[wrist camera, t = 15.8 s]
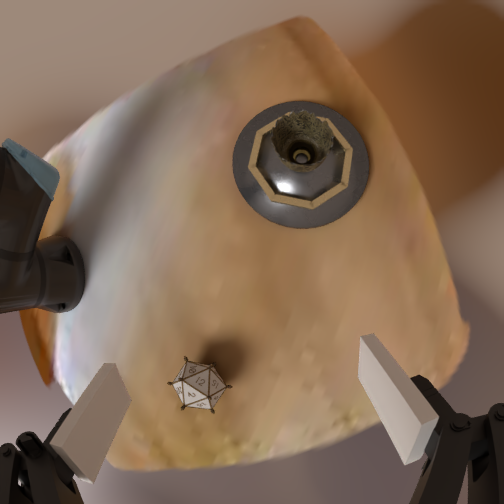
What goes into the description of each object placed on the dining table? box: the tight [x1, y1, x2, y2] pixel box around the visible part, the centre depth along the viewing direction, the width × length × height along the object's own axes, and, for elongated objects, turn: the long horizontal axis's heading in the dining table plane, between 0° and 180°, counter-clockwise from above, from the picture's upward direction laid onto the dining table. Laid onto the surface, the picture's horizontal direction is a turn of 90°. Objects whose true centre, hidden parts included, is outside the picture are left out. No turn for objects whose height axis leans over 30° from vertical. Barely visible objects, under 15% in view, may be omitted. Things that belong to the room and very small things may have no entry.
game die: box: [167, 356, 232, 414], centre depth 37 cm, size 9×8×10 cm
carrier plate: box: [233, 101, 369, 229], centre depth 39 cm, size 20×20×2 cm
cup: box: [270, 110, 333, 172], centre depth 34 cm, size 8×7×8 cm
